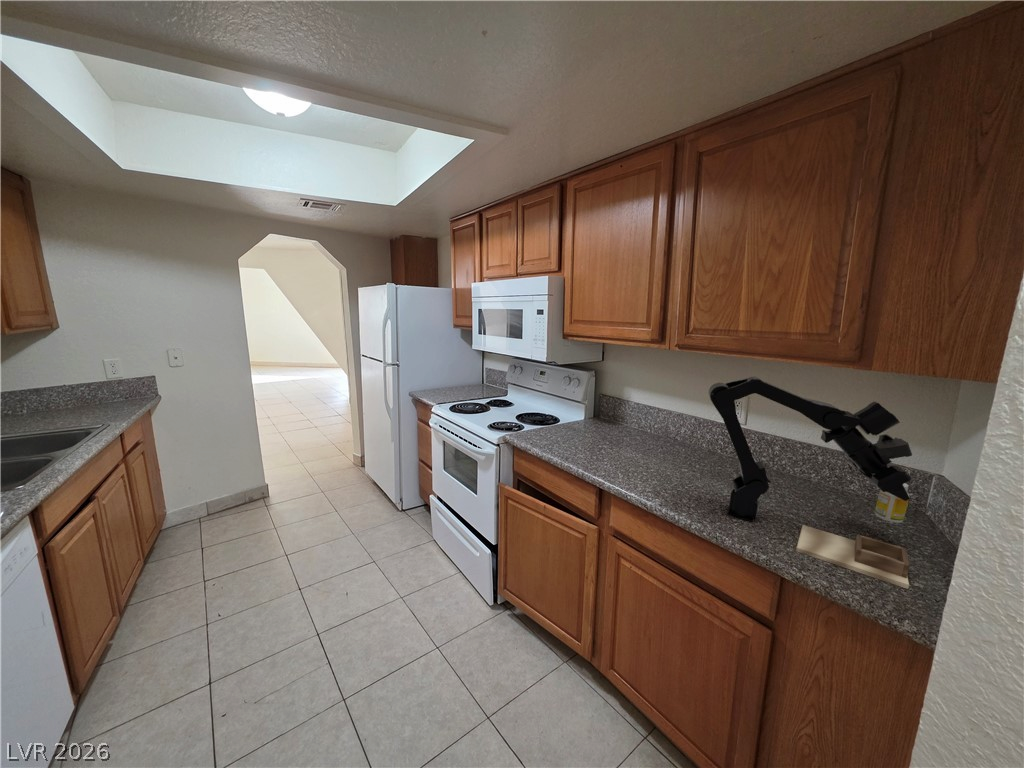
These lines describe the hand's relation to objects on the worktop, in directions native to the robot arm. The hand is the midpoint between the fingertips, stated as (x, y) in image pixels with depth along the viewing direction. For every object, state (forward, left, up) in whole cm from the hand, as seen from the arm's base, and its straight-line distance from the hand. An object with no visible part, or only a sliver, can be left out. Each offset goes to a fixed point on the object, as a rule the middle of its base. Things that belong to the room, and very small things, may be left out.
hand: (901, 494), depth 98 cm
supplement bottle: (-1, 0, -7) cm, 7 cm away
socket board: (-8, -15, -13) cm, 21 cm away
